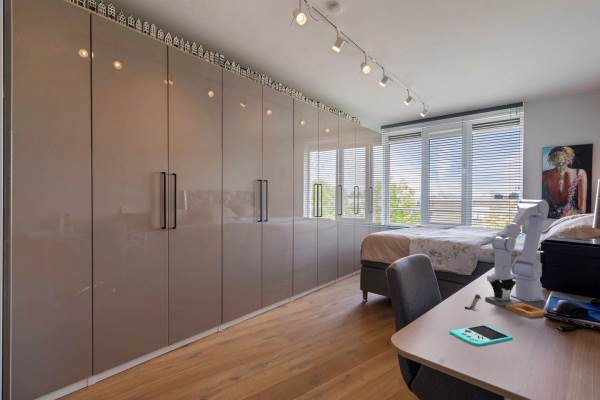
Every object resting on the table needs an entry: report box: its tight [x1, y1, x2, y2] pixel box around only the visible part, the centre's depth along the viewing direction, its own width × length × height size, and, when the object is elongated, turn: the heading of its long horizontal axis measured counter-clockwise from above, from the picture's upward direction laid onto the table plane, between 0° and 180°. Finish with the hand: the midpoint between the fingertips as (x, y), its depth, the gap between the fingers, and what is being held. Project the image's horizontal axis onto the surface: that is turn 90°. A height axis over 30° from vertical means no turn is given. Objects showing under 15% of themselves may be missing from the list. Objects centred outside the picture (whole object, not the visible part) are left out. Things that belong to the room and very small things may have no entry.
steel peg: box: [493, 288, 511, 302], centre depth 128 cm, size 4×4×6 cm
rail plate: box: [484, 295, 546, 319], centre depth 122 cm, size 9×19×2 cm, turn 16°
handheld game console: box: [449, 324, 514, 347], centre depth 97 cm, size 10×16×1 cm, turn 109°
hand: (501, 297), depth 128 cm, fingers closed on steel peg, 4 cm apart
